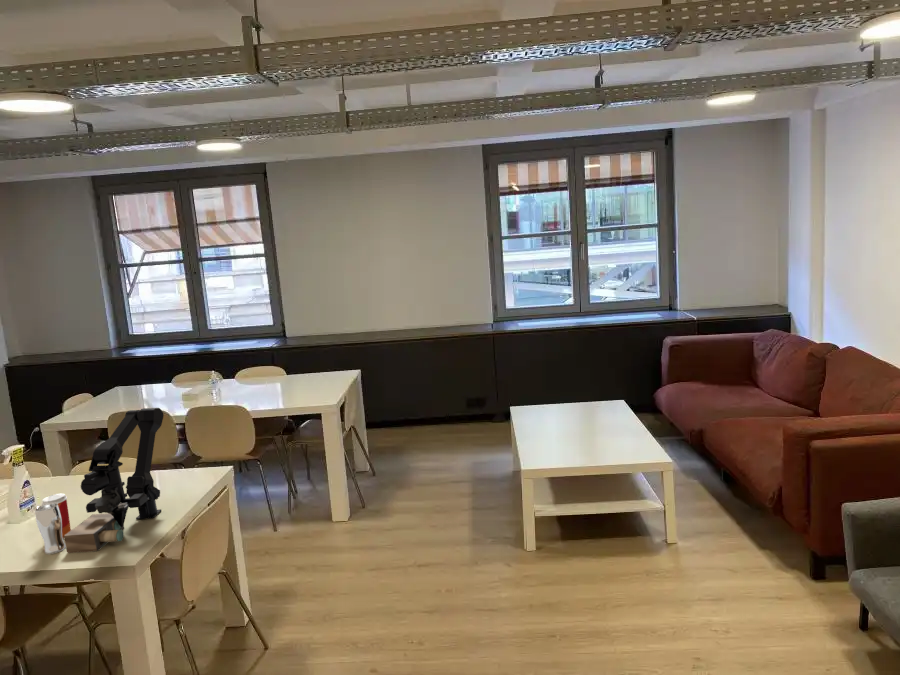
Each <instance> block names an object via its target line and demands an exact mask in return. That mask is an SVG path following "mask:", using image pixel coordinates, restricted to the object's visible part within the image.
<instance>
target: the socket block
mask: <svg viewBox="0 0 900 675" xmlns="http://www.w3.org/2000/svg"><path fill="white" fill-rule="evenodd" d="M114 520H115V518H114V517H113V516H112V515H111V514H109V513H105V512H104V513H94V514H91V515H90V516H88V517H87V518H86V519H84V520H83V521H82V522H80V523H79V524H78V525H76V526H75V527H74V528H72V529H71V531H69V532H68V533H67V534H65V535H64V538H63V540H64V543H65V545H66V548H65V549H66V553H67V554H74V553H89V552H99V550H101V549H102V548H103V547H104V546H105V545H107V544H108V543H109V542H100V541H99V536H98V533H99V532H100V531H108V530H113V527H112V522H113V521H114ZM120 530H123V531H124V530H125V524H124V525H123V527H121V528H120Z"/></svg>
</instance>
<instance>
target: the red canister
mask: <svg viewBox="0 0 900 675" xmlns="http://www.w3.org/2000/svg"><path fill="white" fill-rule="evenodd" d="M67 499H68V496H67V495H66V494H65V493H63V492H62V493H61V492H60V493H54V494H51V495H49V496H46V497H44V498H42V501H41V506H42V505H45V504H49V503H57V504H58V507H59V510H60V513H61V518H62V537H63V539H64V535H65V534H67V533H68V532H69V531H71V530H72V529H71V522H70V521H71V520H70V515H69V509H68V508H69V507H68V500H67Z"/></svg>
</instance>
